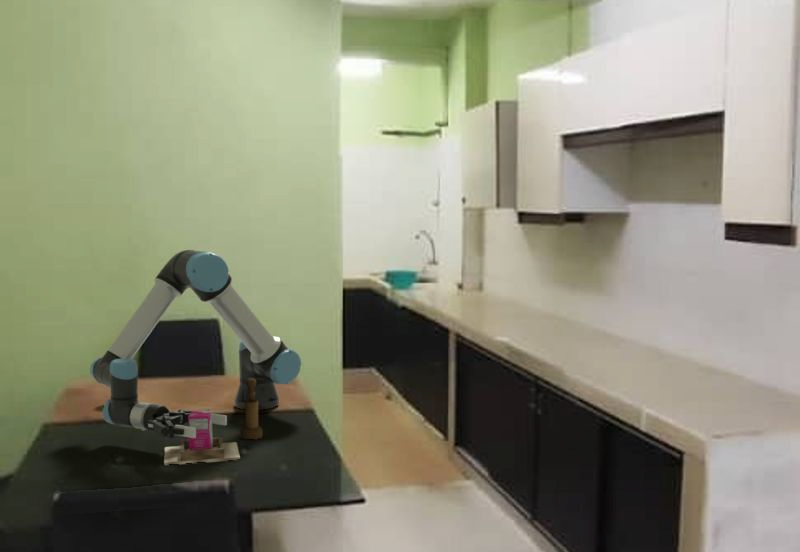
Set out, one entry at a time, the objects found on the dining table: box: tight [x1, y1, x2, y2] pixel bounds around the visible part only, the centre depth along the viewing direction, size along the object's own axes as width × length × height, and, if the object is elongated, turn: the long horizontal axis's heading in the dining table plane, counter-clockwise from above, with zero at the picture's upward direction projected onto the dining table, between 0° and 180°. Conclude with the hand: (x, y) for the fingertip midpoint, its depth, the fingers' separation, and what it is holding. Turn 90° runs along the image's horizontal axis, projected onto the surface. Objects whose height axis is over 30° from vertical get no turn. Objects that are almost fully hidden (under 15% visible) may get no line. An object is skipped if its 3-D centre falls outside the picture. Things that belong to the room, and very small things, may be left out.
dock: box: [163, 436, 241, 466], centre depth 230 cm, size 20×14×3 cm
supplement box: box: [187, 409, 214, 450], centre depth 228 cm, size 6×6×12 cm
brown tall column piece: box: [240, 378, 264, 440], centre depth 247 cm, size 7×6×18 cm
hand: (211, 426), depth 227 cm, fingers open, 13 cm apart
